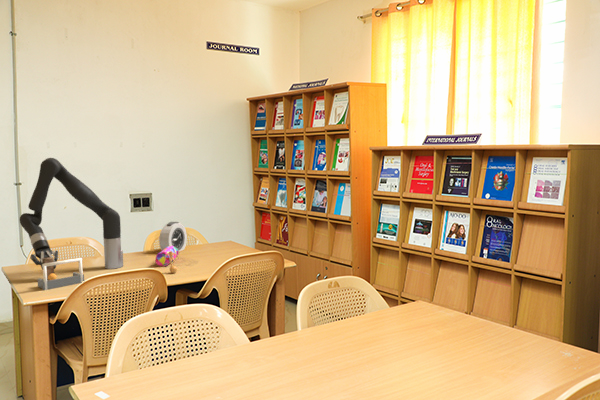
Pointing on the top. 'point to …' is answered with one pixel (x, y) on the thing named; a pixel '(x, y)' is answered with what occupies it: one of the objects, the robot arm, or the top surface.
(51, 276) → the ball
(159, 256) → the pencil case
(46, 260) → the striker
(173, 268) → the figurine
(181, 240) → the alarm clock
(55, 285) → the grey basket with handle
